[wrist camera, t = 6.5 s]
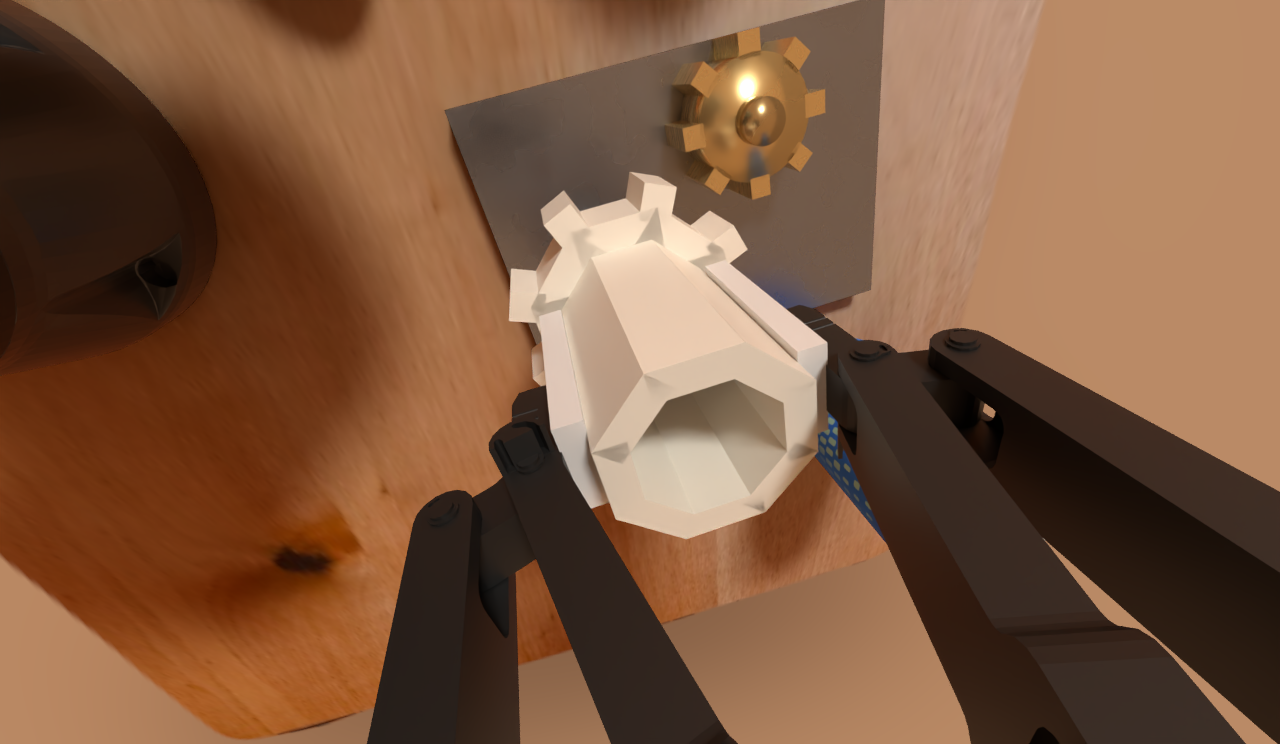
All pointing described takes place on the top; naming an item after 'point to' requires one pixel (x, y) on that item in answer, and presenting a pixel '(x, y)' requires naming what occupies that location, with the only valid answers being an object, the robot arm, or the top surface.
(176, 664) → the top surface
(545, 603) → the top surface
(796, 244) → the plate
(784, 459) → the planet gear
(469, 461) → the top surface
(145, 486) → the top surface
